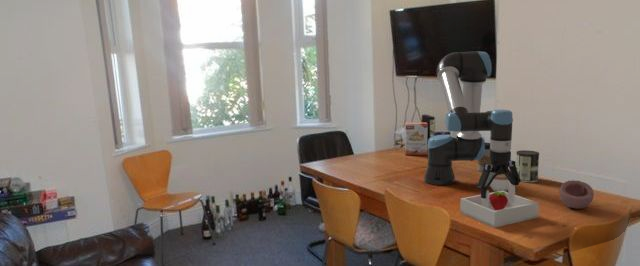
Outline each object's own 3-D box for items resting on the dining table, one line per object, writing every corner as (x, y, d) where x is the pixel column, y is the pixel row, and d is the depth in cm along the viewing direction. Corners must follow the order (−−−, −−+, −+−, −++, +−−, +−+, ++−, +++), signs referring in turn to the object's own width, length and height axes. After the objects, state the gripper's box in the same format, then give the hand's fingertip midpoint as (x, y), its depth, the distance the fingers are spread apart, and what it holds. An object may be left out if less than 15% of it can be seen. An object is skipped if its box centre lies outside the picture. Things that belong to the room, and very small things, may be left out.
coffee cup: (475, 172, 237) (476, 144, 234) (476, 168, 244) (477, 142, 242) (492, 173, 234) (493, 145, 231) (492, 169, 241) (493, 142, 239)
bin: (460, 212, 176) (460, 198, 175) (501, 204, 184) (502, 190, 183) (494, 227, 159) (494, 212, 158) (537, 217, 168) (538, 202, 167)
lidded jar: (501, 195, 196) (501, 175, 195) (482, 189, 206) (482, 170, 204) (517, 191, 201) (518, 171, 199) (498, 185, 210) (499, 167, 209)
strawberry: (495, 208, 176) (496, 184, 175) (511, 214, 170) (512, 189, 168) (484, 211, 174) (485, 187, 172) (500, 217, 167) (501, 191, 165)
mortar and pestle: (560, 211, 174) (562, 183, 172) (556, 202, 185) (557, 175, 183) (595, 214, 170) (597, 185, 168) (589, 204, 181) (591, 177, 179)
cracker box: (405, 155, 283) (405, 123, 279) (405, 153, 289) (405, 122, 285) (427, 155, 280) (427, 123, 277) (426, 153, 286) (427, 122, 283)
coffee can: (534, 177, 223) (536, 150, 221) (540, 182, 213) (542, 154, 211) (513, 176, 225) (514, 150, 223) (517, 182, 215) (519, 154, 213)
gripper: (482, 156, 159) (480, 211, 163) (532, 148, 169) (529, 200, 173) (467, 152, 166) (466, 205, 170) (516, 145, 176) (514, 195, 179)
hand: (498, 203), depth 171 cm, fingers open, 13 cm apart
